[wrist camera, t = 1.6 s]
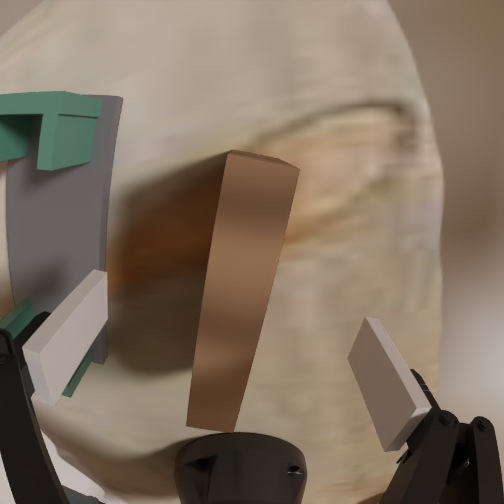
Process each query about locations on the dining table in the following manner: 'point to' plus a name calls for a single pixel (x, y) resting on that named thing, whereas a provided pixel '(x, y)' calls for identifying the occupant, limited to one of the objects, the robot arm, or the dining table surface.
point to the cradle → (56, 200)
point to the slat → (238, 283)
